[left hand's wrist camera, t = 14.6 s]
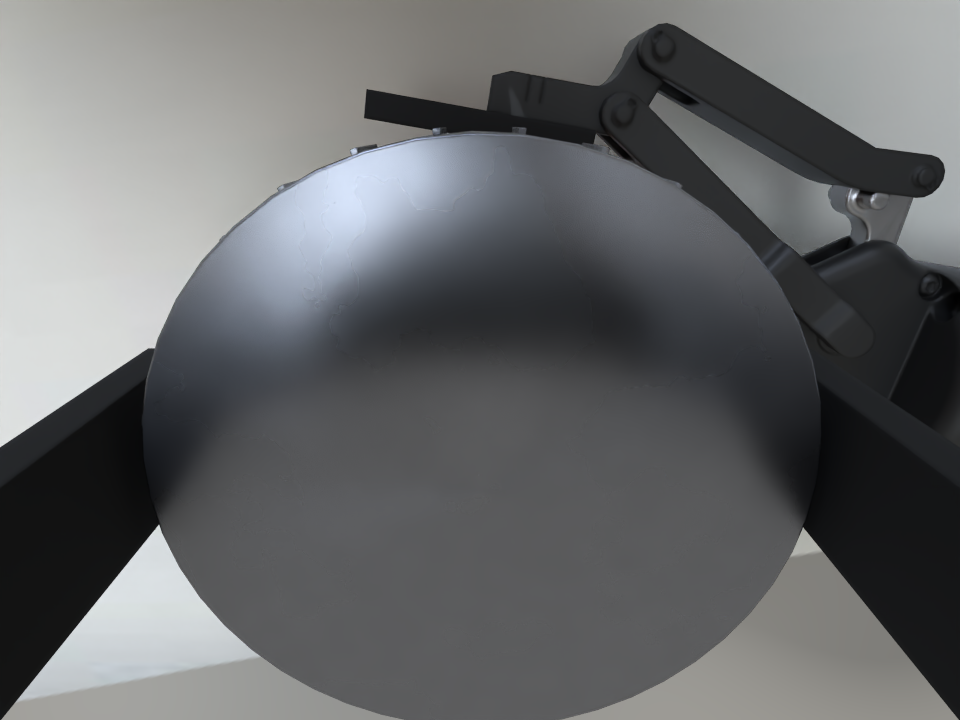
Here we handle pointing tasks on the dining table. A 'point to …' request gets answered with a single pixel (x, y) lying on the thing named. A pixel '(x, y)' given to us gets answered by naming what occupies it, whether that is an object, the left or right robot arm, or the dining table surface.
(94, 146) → the dining table surface
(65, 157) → the dining table surface
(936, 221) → the dining table surface
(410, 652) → the lid
